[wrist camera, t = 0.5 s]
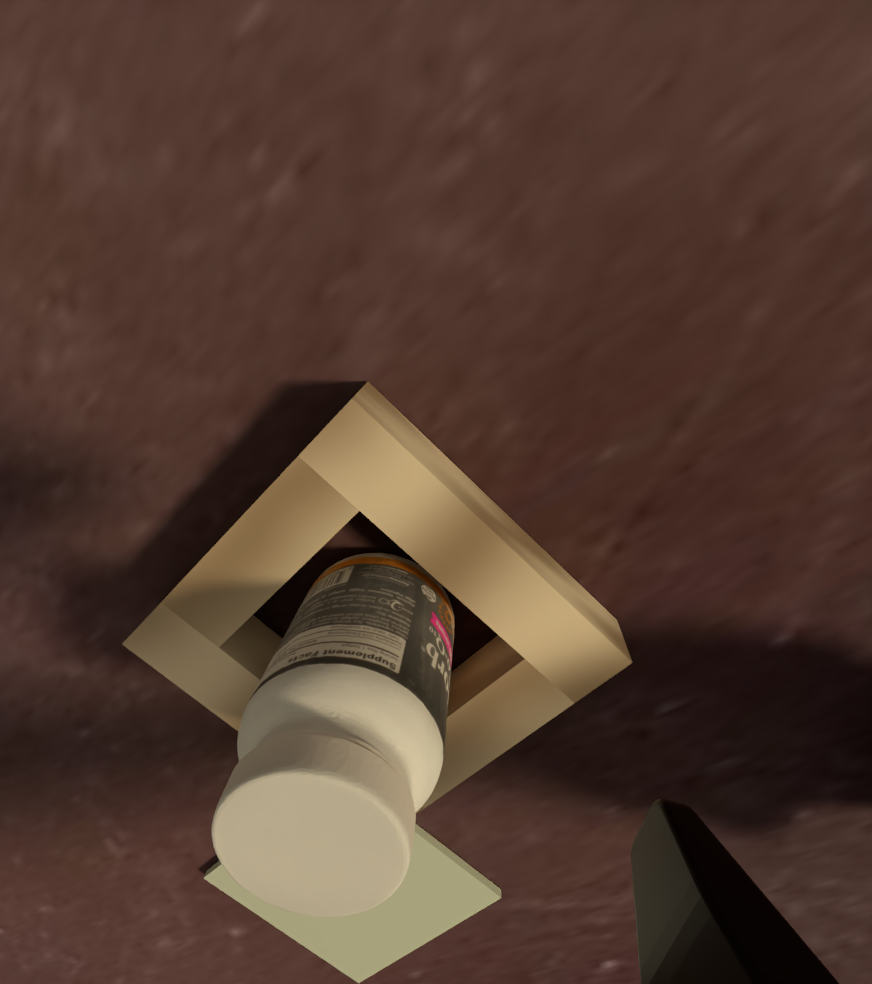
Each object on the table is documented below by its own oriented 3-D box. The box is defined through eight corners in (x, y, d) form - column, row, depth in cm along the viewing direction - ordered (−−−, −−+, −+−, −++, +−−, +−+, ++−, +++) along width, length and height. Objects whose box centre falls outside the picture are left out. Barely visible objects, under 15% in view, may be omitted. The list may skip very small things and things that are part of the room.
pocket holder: (617, 620, 22) (632, 662, 20) (390, 787, 26) (381, 838, 24) (367, 381, 20) (352, 398, 17) (157, 605, 24) (121, 644, 21)
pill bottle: (456, 675, 24) (438, 942, 14) (314, 671, 24) (209, 927, 15) (454, 546, 22) (431, 762, 12) (299, 544, 22) (165, 751, 13)
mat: (501, 889, 28) (501, 898, 28) (360, 974, 31) (358, 983, 31) (340, 765, 26) (338, 773, 26) (206, 870, 29) (203, 878, 29)
